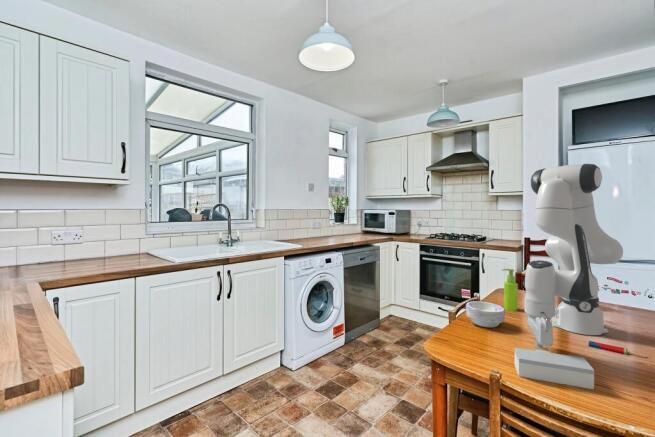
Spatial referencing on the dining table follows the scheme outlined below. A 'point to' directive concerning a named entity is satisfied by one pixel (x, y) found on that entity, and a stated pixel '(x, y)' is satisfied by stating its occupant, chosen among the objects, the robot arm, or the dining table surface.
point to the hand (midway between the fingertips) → (538, 348)
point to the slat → (541, 349)
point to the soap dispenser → (510, 292)
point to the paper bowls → (485, 313)
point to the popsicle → (612, 349)
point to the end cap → (554, 368)
